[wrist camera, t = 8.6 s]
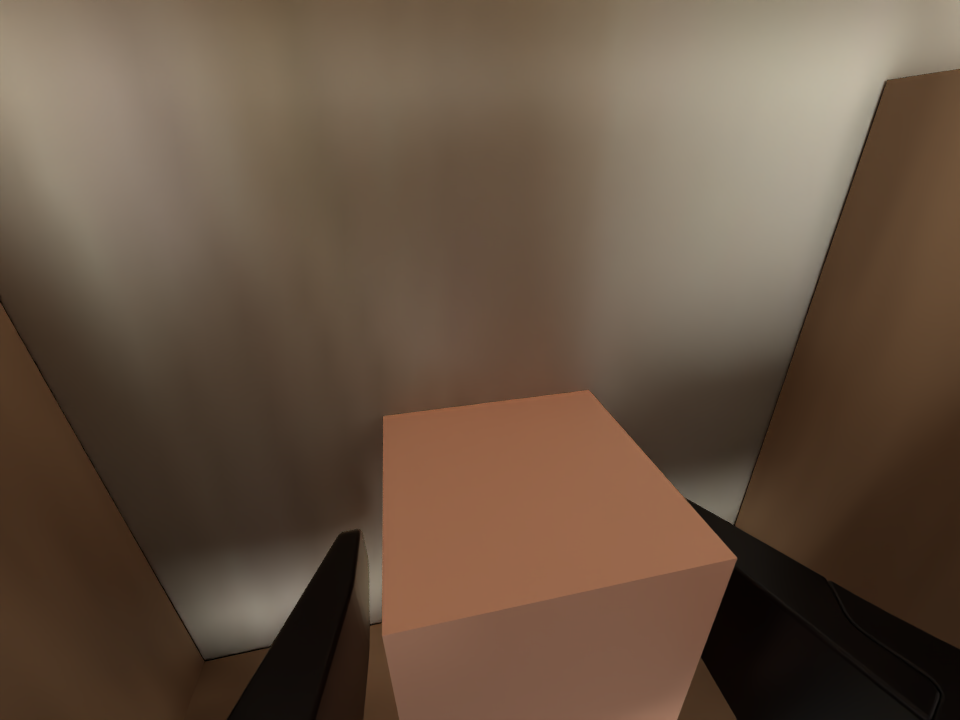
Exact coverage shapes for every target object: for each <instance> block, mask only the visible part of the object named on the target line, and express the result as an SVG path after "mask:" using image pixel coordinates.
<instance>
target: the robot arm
mask: <svg viewBox="0 0 960 720" xmlns="http://www.w3.org/2000/svg"><path fill="white" fill-rule="evenodd" d="M684 498H685V497H684ZM685 499H686V498H685ZM686 500H687V502H688V503H689V504H690V505H691V506H692V507H693V508H694V509H695V511H696V512H697V513H698V514H699V515H700V516H701V517H702V519H703V520H704V521H705V522H706V523H707V524H708V525H709V526H710V528H711V529H712V530H713V531H714V532H715V533H716V534H717V535H718V537H719V538H720V539H721V540H722V541H723V542H724V543H725V545H726V546H727V547H728V548H729V549H730V550H731V551H732V552H733V554H734V555H735V556H736V557H737V560H736V563H735V566H734V569H733V571H732V574H731V577H730V579H729V582H728V585H727V587H726V590H725V593H724V595H723V598H722V601H721V603H720V606H719V609H718V611H717V614H716V617H715V620H714V622H713V625H712V628H711V630H710V633H709V636H708V638H707V641H706V644H705V646H704V649H703V652H702V654H701V659H702V660H703V662H704V664H705V665H706V667H707V669H708V671H709V672H710V674H711V676H712V678H713V679H714V681H715V683H716V684H717V686H718V688H719V690H720V691H721V693H722V695H723V697H724V698H725V700H726V702H727V703H728V705H729V707H730V709H731V710H732V712H733V714H734V716H735V717H736V719H737V720H960V649H958V648H956V647H954V646H952V645H950V644H948V643H946V642H944V641H942V640H941V639H939V638H937V637H935V636H933V635H931V634H929V633H927V632H925V631H923V630H921V629H919V628H917V627H915V626H913V625H911V624H909V623H907V622H905V621H904V620H902V619H900V618H898V617H896V616H894V615H892V614H890V613H888V612H886V611H885V610H883V609H881V608H879V607H877V606H875V605H874V604H872V603H870V602H868V601H866V600H865V599H863V598H861V597H859V596H857V595H856V594H854V593H852V592H850V591H848V590H847V589H845V588H843V587H841V586H840V585H838V584H836V583H834V582H833V581H831V580H828V581H827V579H826V578H825V577H824V576H822V575H820V574H818V573H817V572H815V571H813V570H811V569H810V568H808V567H806V566H804V565H802V564H801V563H799V562H797V561H795V560H794V559H792V558H790V557H788V556H787V555H785V554H783V553H781V552H780V551H778V550H776V549H774V548H773V547H771V546H769V545H767V544H766V543H764V542H762V541H760V540H759V539H757V538H755V537H753V536H752V535H750V534H748V533H746V532H744V531H743V530H741V529H739V528H737V527H736V526H734V525H732V524H730V523H729V522H727V521H725V520H723V519H722V518H720V517H718V516H716V515H715V514H713V513H711V512H709V511H708V510H706V509H704V508H702V507H701V506H699V505H697V504H695V503H694V502H692V501H690V500H688V499H686ZM369 649H370V616H369V564H368V556H367V551H366V547H365V542H364V537H363V533H362V531H361V530H360V529H355V530H350V531H344V532H341V533H340V534H339V535H338V537H337V538H336V540H335V542H334V543H333V545H332V546H331V548H330V550H329V551H328V553H327V555H326V556H325V558H324V560H323V561H322V563H321V565H320V566H319V568H318V570H317V571H316V573H315V574H314V576H313V578H312V579H311V581H310V583H309V584H308V586H307V588H306V589H305V591H304V593H303V594H302V596H301V598H300V599H299V601H298V602H297V604H296V606H295V607H294V609H293V611H292V612H291V614H290V616H289V617H288V619H287V621H286V622H285V624H284V626H283V627H282V629H281V630H280V632H279V634H278V635H277V637H276V639H275V640H274V642H273V644H272V645H271V647H270V649H269V650H268V652H267V654H266V655H265V657H264V658H263V660H262V662H261V663H260V665H259V667H258V668H257V670H256V672H255V673H254V675H253V677H252V678H251V680H250V682H249V683H248V685H247V686H246V688H245V690H244V691H243V693H242V695H241V696H240V698H239V700H238V701H237V703H236V705H235V706H234V708H233V710H232V711H231V713H230V714H229V716H228V718H227V719H226V720H363V717H364V707H365V696H366V685H367V674H368V664H369Z"/></svg>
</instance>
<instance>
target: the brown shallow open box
mask: <svg viewBox="0 0 960 720" xmlns="http://www.w3.org/2000/svg"><path fill="white" fill-rule="evenodd" d="M735 526H736V527H737V528H739V529H741V530H743V531H744V532H746V533H748V534H750V535H752V536H753V537H755V538H757V539H759V540H760V541H762V542H764V543H766V544H767V545H769V546H771V547H773V548H774V549H776V550H778V551H780V552H781V553H783V554H785V555H787V556H788V557H790V558H792V559H794V560H795V561H797V562H799V563H801V564H802V565H804V566H806V567H808V568H810V569H811V570H813V571H815V572H817V573H818V574H820V575H822V576H824V577H825V578H826V579H827V581H828V580H831V581H833V582H834V583H836V584H838V585H840V586H841V587H843V588H845V589H847V590H848V591H850V592H852V593H854V594H856V595H857V596H859V597H861V598H863V599H865V600H866V601H868V602H870V603H872V604H874V605H875V606H877V607H879V608H881V609H883V610H885V611H886V612H888V613H890V614H892V615H894V616H896V617H898V618H900V619H902V620H904V621H905V622H907V623H909V624H911V625H913V626H915V627H917V628H919V629H921V630H923V631H925V632H927V633H929V634H931V635H933V636H935V637H937V638H939V639H941V640H942V641H944V642H946V643H948V644H950V645H952V646H954V647H956V648H958V649H960V69H956V70H950V71H943V72H937V73H930V74H924V75H917V76H911V77H905V78H898V79H892V80H887V83H886V86H885V89H884V92H883V95H882V98H881V101H880V103H879V106H878V109H877V112H876V115H875V118H874V121H873V124H872V127H871V130H870V133H869V136H868V138H867V141H866V144H865V147H864V150H863V153H862V156H861V159H860V162H859V165H858V168H857V171H856V174H855V176H854V179H853V182H852V185H851V188H850V191H849V194H848V197H847V200H846V203H845V206H844V209H843V211H842V214H841V217H840V220H839V223H838V226H837V229H836V232H835V235H834V238H833V241H832V244H831V247H830V249H829V252H828V255H827V258H826V261H825V264H824V267H823V270H822V273H821V276H820V279H819V282H818V284H817V287H816V290H815V293H814V296H813V299H812V302H811V305H810V308H809V311H808V314H807V317H806V320H805V322H804V325H803V328H802V331H801V334H800V337H799V340H798V343H797V346H796V349H795V352H794V355H793V357H792V360H791V363H790V366H789V369H788V372H787V375H786V378H785V381H784V384H783V387H782V390H781V393H780V395H779V398H778V401H777V404H776V407H775V410H774V413H773V416H772V419H771V422H770V425H769V428H768V430H767V433H766V436H765V439H764V442H763V445H762V448H761V451H760V454H759V457H758V460H757V463H756V466H755V468H754V471H753V474H752V477H751V480H750V483H749V486H748V489H747V492H746V495H745V498H744V501H743V503H742V506H741V509H740V512H739V515H738V518H737V521H736V524H735ZM269 649H270V648H266V649H261V650H257V651H252V652H247V653H243V654H238V655H234V656H229V657H224V658H220V659H215V660H211V661H206V662H204V660H203V659H202V657H201V655H200V653H199V652H198V650H197V648H196V646H195V644H194V643H193V641H192V639H191V637H190V636H189V634H188V632H187V630H186V629H185V627H184V625H183V623H182V622H181V620H180V618H179V616H178V615H177V613H176V611H175V609H174V608H173V606H172V604H171V602H170V600H169V599H168V597H167V595H166V593H165V592H164V590H163V588H162V586H161V585H160V583H159V581H158V579H157V578H156V576H155V574H154V572H153V571H152V569H151V567H150V565H149V564H148V562H147V560H146V558H145V556H144V555H143V553H142V551H141V549H140V548H139V546H138V544H137V542H136V541H135V539H134V537H133V535H132V534H131V532H130V530H129V528H128V527H127V525H126V523H125V521H124V520H123V518H122V516H121V514H120V512H119V511H118V509H117V507H116V505H115V504H114V502H113V500H112V498H111V497H110V495H109V493H108V491H107V490H106V488H105V486H104V484H103V483H102V481H101V479H100V477H99V476H98V474H97V472H96V470H95V468H94V467H93V465H92V463H91V461H90V460H89V458H88V456H87V454H86V453H85V451H84V449H83V447H82V446H81V444H80V442H79V440H78V439H77V437H76V435H75V433H74V431H73V430H72V428H71V426H70V424H69V423H68V421H67V419H66V417H65V416H64V414H63V412H62V410H61V409H60V407H59V405H58V403H57V402H56V400H55V398H54V396H53V395H52V393H51V391H50V389H49V387H48V386H47V384H46V382H45V380H44V379H43V377H42V375H41V373H40V372H39V370H38V368H37V366H36V365H35V363H34V361H33V359H32V358H31V356H30V354H29V352H28V351H27V349H26V347H25V345H24V343H23V342H22V340H21V338H20V336H19V335H18V333H17V331H16V329H15V328H14V326H13V324H12V322H11V321H10V319H9V317H8V315H7V314H6V312H5V310H4V308H3V307H2V305H1V303H0V720H226V719H227V718H228V716H229V714H230V713H231V711H232V710H233V708H234V706H235V705H236V703H237V701H238V700H239V698H240V696H241V695H242V693H243V691H244V690H245V688H246V686H247V685H248V683H249V682H250V680H251V678H252V677H253V675H254V673H255V672H256V670H257V668H258V667H259V665H260V663H261V662H262V660H263V658H264V657H265V655H266V654H267V652H268V650H269ZM363 720H399V716H398V711H397V706H396V701H395V696H394V691H393V687H392V682H391V677H390V672H389V667H388V662H387V658H386V653H385V648H384V643H383V638H382V623H381V624H376V625H372V626H370V649H369V664H368V674H367V685H366V696H365V707H364V717H363ZM677 720H737V719H736V717H735V716H734V714H733V712H732V710H731V709H730V707H729V705H728V703H727V702H726V700H725V698H724V697H723V695H722V693H721V691H720V690H719V688H718V686H717V684H716V683H715V681H714V679H713V678H712V676H711V674H710V672H709V671H708V669H707V667H706V665H705V664H704V662H703V660H702V659H701V657H700V660H699V662H698V665H697V668H696V671H695V673H694V676H693V679H692V681H691V684H690V687H689V689H688V692H687V695H686V697H685V700H684V703H683V705H682V708H681V711H680V713H679V716H678V719H677Z"/></svg>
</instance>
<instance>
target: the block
mask: <svg viewBox="0 0 960 720" xmlns="http://www.w3.org/2000/svg"><path fill="white" fill-rule="evenodd" d="M736 560H737V557H736V556H735V555H734V554H733V552H732V551H731V550H730V549H729V548H728V547H727V546H726V545H725V543H724V542H723V541H722V540H721V539H720V538H719V537H718V535H717V534H716V533H715V532H714V531H713V530H712V529H711V528H710V526H709V525H708V524H707V523H706V522H705V521H704V520H703V519H702V517H701V516H700V515H699V514H698V513H697V512H696V511H695V509H694V508H693V507H692V506H691V505H690V504H689V503H688V502H687V500H686V499H685V498H684V497H683V496H682V495H681V494H680V493H679V491H678V490H677V489H676V488H675V487H674V486H673V485H672V483H671V482H670V481H669V480H668V479H667V478H666V477H665V476H664V474H663V473H662V472H661V471H660V470H659V469H658V468H657V467H656V465H655V464H654V463H653V462H652V461H651V460H650V459H649V457H648V456H647V455H646V454H645V453H644V452H643V451H642V450H641V448H640V447H639V446H638V445H637V444H636V443H635V442H634V440H633V439H632V438H631V437H630V436H629V435H628V434H627V433H626V431H625V430H624V429H623V428H622V427H621V426H620V425H619V424H618V422H617V421H616V420H615V419H614V418H613V417H612V416H611V414H610V413H609V412H608V411H607V410H606V409H605V408H604V407H603V405H602V404H601V403H600V402H599V401H598V400H597V399H596V398H595V396H594V395H593V394H592V393H591V392H590V391H589V390H583V391H576V392H568V393H560V394H552V395H544V396H536V397H528V398H520V399H513V400H505V401H497V402H489V403H481V404H473V405H465V406H457V407H450V408H442V409H434V410H426V411H418V412H410V413H402V414H394V415H387V416H383V544H382V638H383V643H384V648H385V653H386V658H387V662H388V667H389V672H390V677H391V682H392V687H393V691H394V696H395V701H396V706H397V711H398V716H399V720H677V719H678V716H679V713H680V711H681V708H682V705H683V703H684V700H685V697H686V695H687V692H688V689H689V687H690V684H691V681H692V679H693V676H694V673H695V671H696V668H697V665H698V662H699V660H700V657H701V654H702V652H703V649H704V646H705V644H706V641H707V638H708V636H709V633H710V630H711V628H712V625H713V622H714V620H715V617H716V614H717V611H718V609H719V606H720V603H721V601H722V598H723V595H724V593H725V590H726V587H727V585H728V582H729V579H730V577H731V574H732V571H733V569H734V566H735V563H736Z"/></svg>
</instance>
